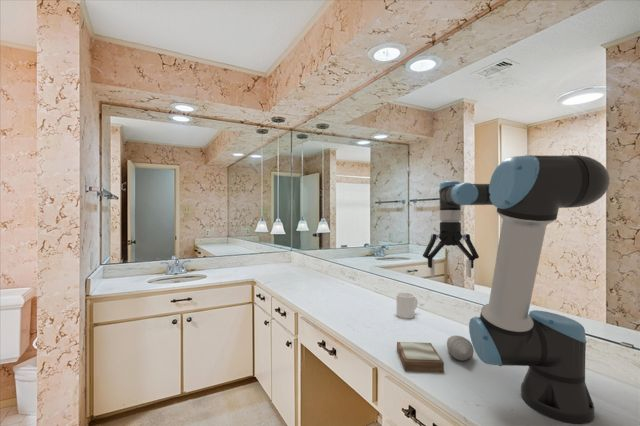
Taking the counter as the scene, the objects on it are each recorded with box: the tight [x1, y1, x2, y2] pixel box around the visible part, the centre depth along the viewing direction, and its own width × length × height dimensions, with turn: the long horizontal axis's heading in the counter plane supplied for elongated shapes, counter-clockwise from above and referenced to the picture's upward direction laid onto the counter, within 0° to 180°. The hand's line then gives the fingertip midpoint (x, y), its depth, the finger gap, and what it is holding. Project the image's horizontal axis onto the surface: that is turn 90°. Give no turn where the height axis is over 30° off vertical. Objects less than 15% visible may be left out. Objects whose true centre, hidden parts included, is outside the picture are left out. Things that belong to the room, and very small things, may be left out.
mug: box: [396, 291, 418, 320], centre depth 146 cm, size 12×8×10 cm
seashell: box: [446, 335, 475, 362], centre depth 107 cm, size 9×11×15 cm
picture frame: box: [396, 341, 445, 373], centre depth 102 cm, size 14×12×3 cm
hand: (450, 276), depth 116 cm, fingers open, 13 cm apart
